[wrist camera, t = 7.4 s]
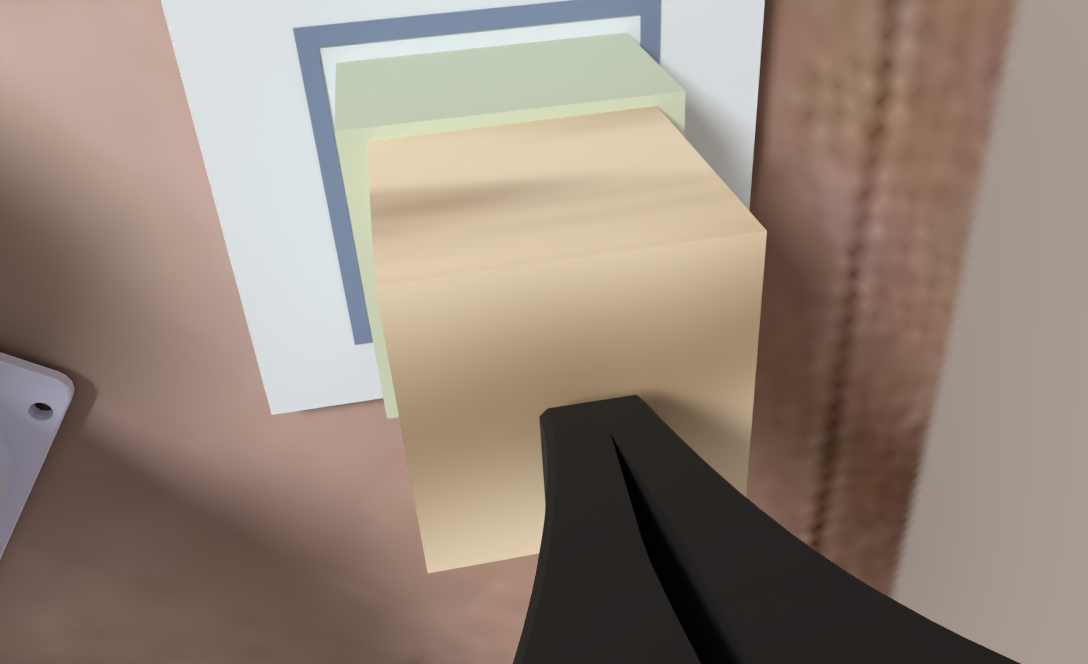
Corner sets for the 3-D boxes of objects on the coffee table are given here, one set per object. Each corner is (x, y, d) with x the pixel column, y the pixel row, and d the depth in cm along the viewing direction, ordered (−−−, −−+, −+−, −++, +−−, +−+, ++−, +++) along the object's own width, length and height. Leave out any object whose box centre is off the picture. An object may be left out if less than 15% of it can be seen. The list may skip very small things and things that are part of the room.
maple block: (655, 345, 19) (745, 516, 15) (408, 384, 18) (427, 573, 14) (656, 106, 16) (766, 231, 12) (366, 141, 15) (374, 285, 11)
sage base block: (627, 281, 23) (676, 374, 19) (380, 316, 22) (386, 419, 18) (626, 32, 19) (685, 91, 16) (336, 62, 19) (334, 131, 15)
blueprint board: (729, 328, 25) (740, 346, 24) (273, 396, 23) (271, 417, 23) (789, -599, 15) (812, -617, 14) (15, -586, 14) (-3, -605, 13)
